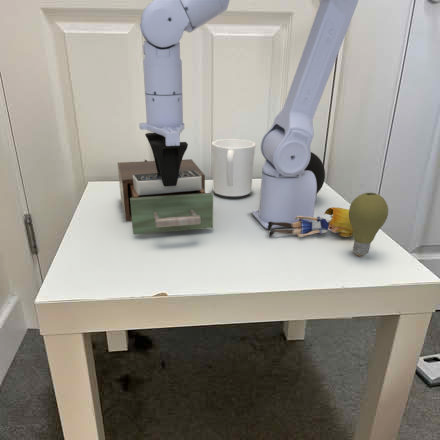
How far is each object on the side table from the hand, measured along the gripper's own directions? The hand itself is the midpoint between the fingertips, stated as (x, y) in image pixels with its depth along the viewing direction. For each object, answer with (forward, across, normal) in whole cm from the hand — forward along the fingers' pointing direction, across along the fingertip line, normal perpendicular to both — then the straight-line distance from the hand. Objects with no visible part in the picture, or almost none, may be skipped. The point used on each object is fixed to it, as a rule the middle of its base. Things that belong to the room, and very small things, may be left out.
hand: (167, 180), depth 76 cm
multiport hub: (+2, 0, 0) cm, 2 cm away
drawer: (+7, +2, 0) cm, 7 cm away
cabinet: (+8, -9, 0) cm, 12 cm away
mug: (+8, -14, +16) cm, 23 cm away
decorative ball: (+8, -8, +28) cm, 30 cm away
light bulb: (+8, +19, +27) cm, 34 cm away
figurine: (+8, +10, +23) cm, 26 cm away
